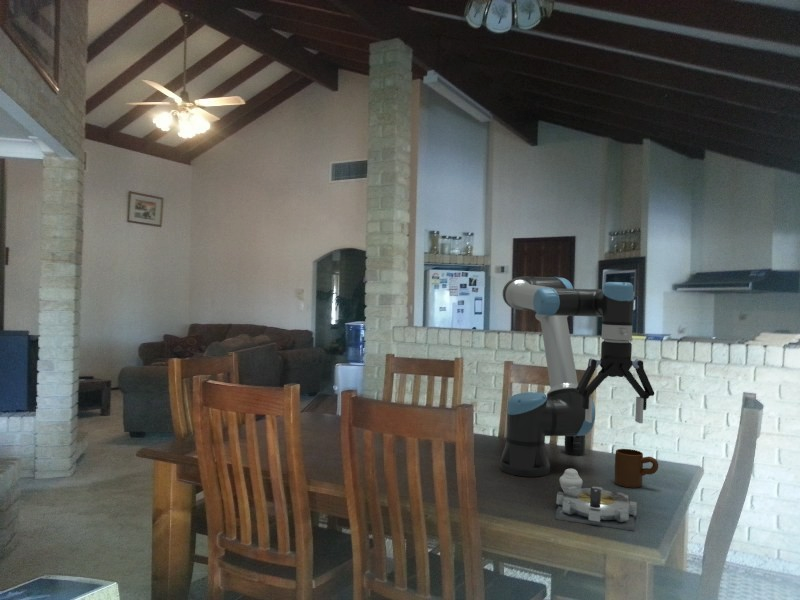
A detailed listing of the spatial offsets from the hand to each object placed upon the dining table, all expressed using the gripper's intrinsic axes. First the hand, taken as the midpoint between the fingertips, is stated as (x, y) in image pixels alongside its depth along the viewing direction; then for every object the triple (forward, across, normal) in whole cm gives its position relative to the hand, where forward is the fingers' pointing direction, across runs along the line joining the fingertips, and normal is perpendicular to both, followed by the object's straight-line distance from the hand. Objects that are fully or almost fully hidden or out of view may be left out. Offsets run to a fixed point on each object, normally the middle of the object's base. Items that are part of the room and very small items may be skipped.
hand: (613, 422), depth 161 cm
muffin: (+22, -8, +7) cm, 24 cm away
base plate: (+21, -7, -7) cm, 23 cm away
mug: (+22, +13, +14) cm, 29 cm away
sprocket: (+20, -7, -7) cm, 22 cm away
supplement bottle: (+21, +8, +48) cm, 53 cm away
